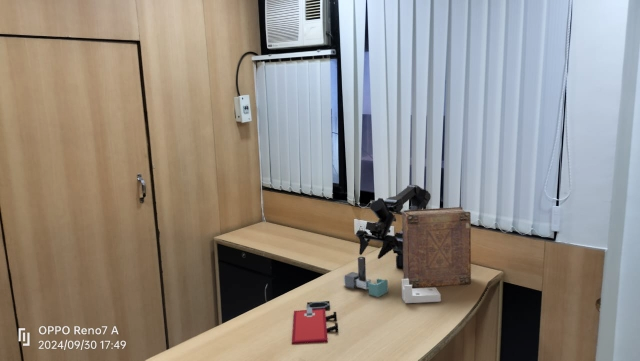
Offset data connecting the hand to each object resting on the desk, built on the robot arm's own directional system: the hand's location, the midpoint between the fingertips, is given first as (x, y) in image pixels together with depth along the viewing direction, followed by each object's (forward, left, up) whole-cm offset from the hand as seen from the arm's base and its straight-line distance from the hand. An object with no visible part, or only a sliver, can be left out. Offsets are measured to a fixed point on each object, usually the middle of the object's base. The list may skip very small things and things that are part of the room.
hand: (369, 256), depth 192 cm
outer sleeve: (+7, +1, -12) cm, 14 cm away
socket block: (-3, +9, -12) cm, 15 cm away
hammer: (+5, +3, -11) cm, 13 cm away
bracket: (-19, +15, -13) cm, 27 cm away
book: (-27, -3, -12) cm, 30 cm away
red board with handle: (+18, +34, -13) cm, 40 cm away
